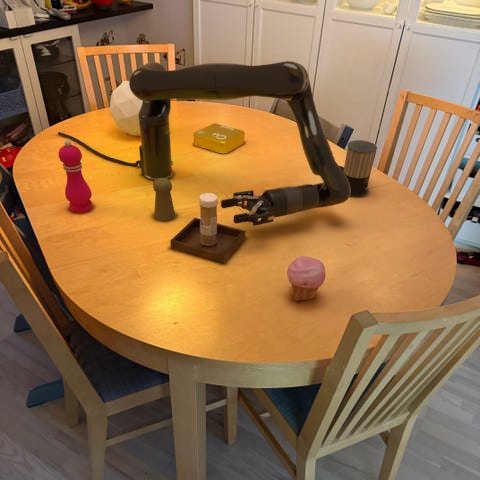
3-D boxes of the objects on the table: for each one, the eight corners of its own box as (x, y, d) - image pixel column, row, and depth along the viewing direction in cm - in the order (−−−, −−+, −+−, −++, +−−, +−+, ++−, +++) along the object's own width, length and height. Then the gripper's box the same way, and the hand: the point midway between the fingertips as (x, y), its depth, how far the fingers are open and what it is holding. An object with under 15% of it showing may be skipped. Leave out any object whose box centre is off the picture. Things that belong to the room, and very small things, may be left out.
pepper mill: (98, 204, 140) (86, 137, 126) (85, 215, 134) (70, 147, 121) (77, 200, 141) (63, 133, 128) (63, 211, 136) (47, 142, 123)
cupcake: (283, 283, 114) (288, 248, 107) (319, 285, 114) (325, 250, 107) (285, 306, 107) (290, 271, 101) (323, 308, 107) (330, 273, 101)
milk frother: (364, 199, 148) (375, 153, 138) (316, 190, 152) (323, 144, 142) (371, 181, 158) (381, 137, 148) (325, 173, 162) (332, 129, 152)
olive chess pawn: (171, 222, 133) (169, 186, 126) (151, 219, 134) (147, 183, 127) (177, 212, 138) (175, 176, 131) (158, 209, 139) (155, 174, 131)
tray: (170, 248, 123) (170, 240, 122) (195, 225, 133) (194, 217, 131) (223, 264, 119) (224, 255, 117) (245, 238, 128) (245, 230, 127)
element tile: (246, 142, 180) (246, 129, 177) (224, 155, 170) (224, 141, 167) (214, 133, 186) (214, 121, 183) (191, 145, 176) (191, 132, 173)
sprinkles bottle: (196, 242, 126) (195, 196, 117) (208, 236, 128) (207, 190, 119) (209, 249, 123) (208, 202, 114) (220, 242, 126) (221, 196, 117)
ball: (131, 147, 190) (120, 96, 188) (175, 133, 184) (165, 80, 181) (105, 137, 172) (93, 81, 170) (153, 122, 166) (141, 63, 164)
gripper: (271, 177, 130) (217, 186, 124) (296, 200, 120) (239, 211, 115) (269, 202, 135) (217, 212, 129) (293, 226, 125) (238, 237, 120)
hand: (227, 211), depth 122 cm, fingers open, 8 cm apart
